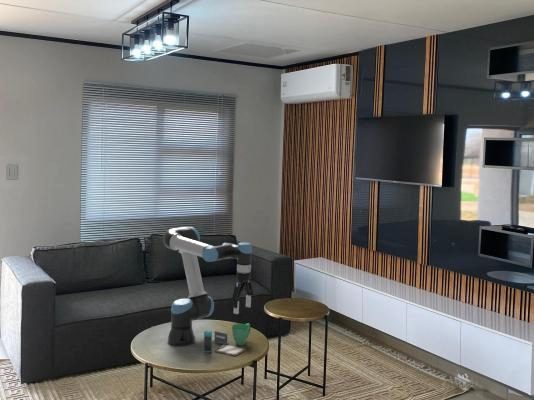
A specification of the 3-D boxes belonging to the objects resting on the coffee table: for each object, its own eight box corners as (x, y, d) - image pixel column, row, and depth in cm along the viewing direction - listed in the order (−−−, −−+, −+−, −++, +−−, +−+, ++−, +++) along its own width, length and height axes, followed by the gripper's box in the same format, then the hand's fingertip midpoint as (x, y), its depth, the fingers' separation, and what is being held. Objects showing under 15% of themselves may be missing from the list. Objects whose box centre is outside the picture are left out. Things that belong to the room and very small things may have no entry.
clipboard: (215, 351, 307) (215, 349, 307) (225, 345, 316) (226, 343, 316) (235, 356, 301) (235, 354, 301) (246, 350, 310) (246, 347, 310)
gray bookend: (213, 342, 322) (213, 331, 321) (216, 340, 324) (216, 330, 324) (225, 344, 318) (225, 334, 317) (228, 343, 320) (228, 332, 320)
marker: (202, 352, 305) (202, 332, 304) (206, 350, 309) (207, 330, 308) (208, 354, 303) (209, 333, 302) (213, 351, 307) (213, 331, 306)
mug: (243, 348, 314) (243, 330, 313) (228, 344, 318) (228, 327, 317) (256, 340, 327) (256, 323, 326) (241, 337, 331) (241, 320, 330)
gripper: (238, 277, 291) (237, 317, 294) (260, 268, 314) (258, 305, 316) (225, 275, 295) (224, 315, 297) (248, 266, 317) (246, 303, 319)
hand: (242, 310), depth 307 cm, fingers open, 13 cm apart
